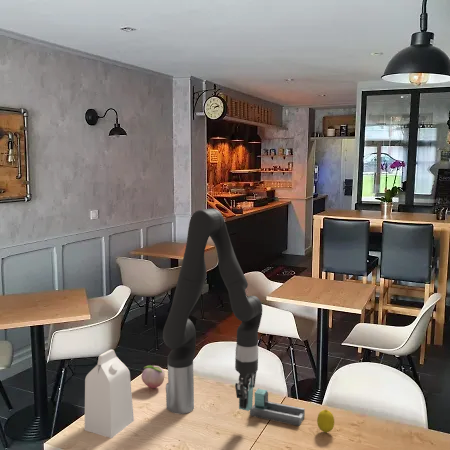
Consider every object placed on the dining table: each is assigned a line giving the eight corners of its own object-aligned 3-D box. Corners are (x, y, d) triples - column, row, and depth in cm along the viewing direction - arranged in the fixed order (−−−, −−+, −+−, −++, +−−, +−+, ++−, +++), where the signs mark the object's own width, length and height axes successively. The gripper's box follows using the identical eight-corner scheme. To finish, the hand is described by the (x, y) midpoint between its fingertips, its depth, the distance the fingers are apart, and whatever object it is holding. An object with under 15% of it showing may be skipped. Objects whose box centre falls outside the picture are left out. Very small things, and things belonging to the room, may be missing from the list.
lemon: (334, 438, 157) (334, 414, 156) (316, 436, 158) (317, 413, 157) (334, 429, 163) (334, 406, 162) (317, 427, 164) (317, 404, 163)
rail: (249, 415, 172) (249, 394, 171) (256, 406, 178) (256, 386, 177) (299, 426, 165) (299, 403, 164) (304, 416, 171) (304, 395, 170)
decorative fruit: (169, 385, 196) (168, 361, 195) (159, 394, 189) (158, 369, 187) (148, 382, 200) (148, 358, 198) (138, 390, 192) (137, 366, 191)
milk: (107, 413, 174) (104, 344, 171) (133, 420, 169) (131, 349, 166) (84, 430, 164) (80, 356, 160) (111, 438, 159) (108, 362, 155)
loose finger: (242, 404, 166) (243, 384, 165) (252, 406, 165) (252, 386, 164) (238, 409, 162) (238, 389, 161) (248, 411, 161) (248, 391, 160)
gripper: (244, 346, 169) (243, 393, 171) (227, 362, 156) (226, 412, 158) (264, 350, 166) (263, 398, 168) (249, 366, 153) (248, 417, 155)
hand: (245, 404), depth 163 cm, fingers closed on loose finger, 4 cm apart
